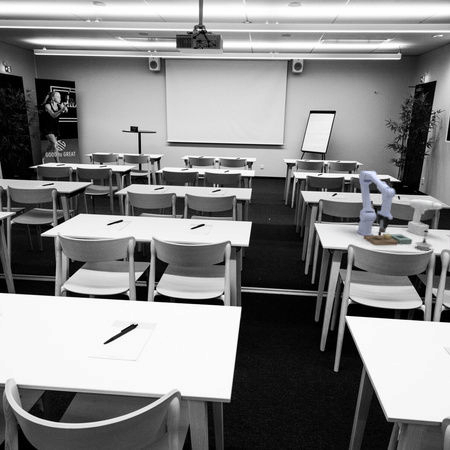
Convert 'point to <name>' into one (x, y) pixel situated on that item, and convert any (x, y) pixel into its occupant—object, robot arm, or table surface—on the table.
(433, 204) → the power drill
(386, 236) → the release key
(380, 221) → the steel peg
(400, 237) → the rack
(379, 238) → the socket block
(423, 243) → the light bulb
